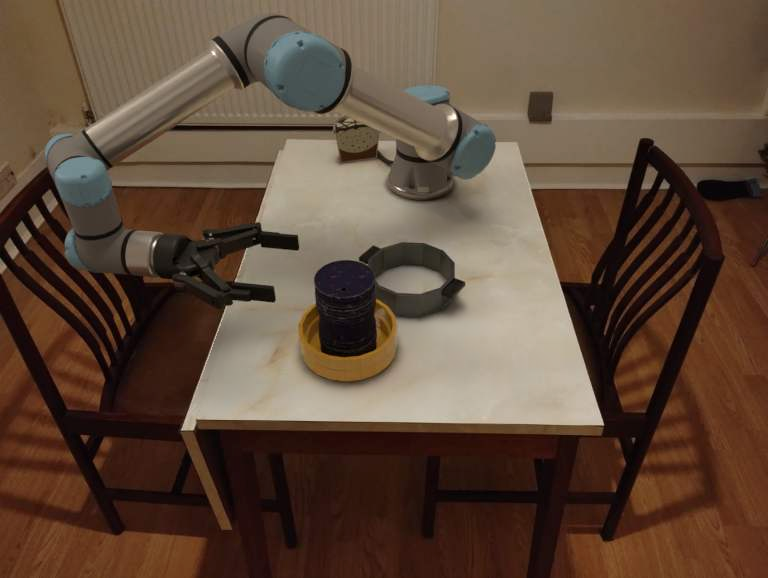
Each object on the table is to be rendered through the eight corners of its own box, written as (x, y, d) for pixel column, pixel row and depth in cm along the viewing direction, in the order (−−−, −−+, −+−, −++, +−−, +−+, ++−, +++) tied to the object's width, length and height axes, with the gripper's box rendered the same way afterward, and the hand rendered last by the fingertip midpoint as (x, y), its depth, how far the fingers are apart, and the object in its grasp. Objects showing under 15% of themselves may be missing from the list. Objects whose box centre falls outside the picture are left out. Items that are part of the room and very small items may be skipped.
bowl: (288, 333, 118) (285, 310, 115) (372, 307, 124) (371, 284, 120) (321, 396, 107) (319, 372, 103) (412, 364, 112) (413, 340, 109)
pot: (341, 291, 127) (340, 271, 124) (389, 249, 138) (389, 229, 135) (434, 333, 118) (435, 312, 115) (478, 285, 128) (480, 264, 125)
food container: (376, 146, 173) (375, 110, 167) (382, 157, 169) (382, 120, 162) (330, 152, 171) (327, 116, 164) (335, 164, 166) (332, 126, 160)
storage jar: (322, 326, 119) (316, 259, 109) (377, 326, 119) (375, 259, 109) (317, 367, 111) (310, 298, 102) (376, 366, 111) (375, 298, 102)
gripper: (195, 231, 121) (308, 241, 118) (133, 323, 102) (265, 337, 99) (187, 196, 116) (304, 205, 113) (120, 285, 97) (259, 299, 94)
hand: (286, 267), depth 106 cm, fingers open, 13 cm apart
